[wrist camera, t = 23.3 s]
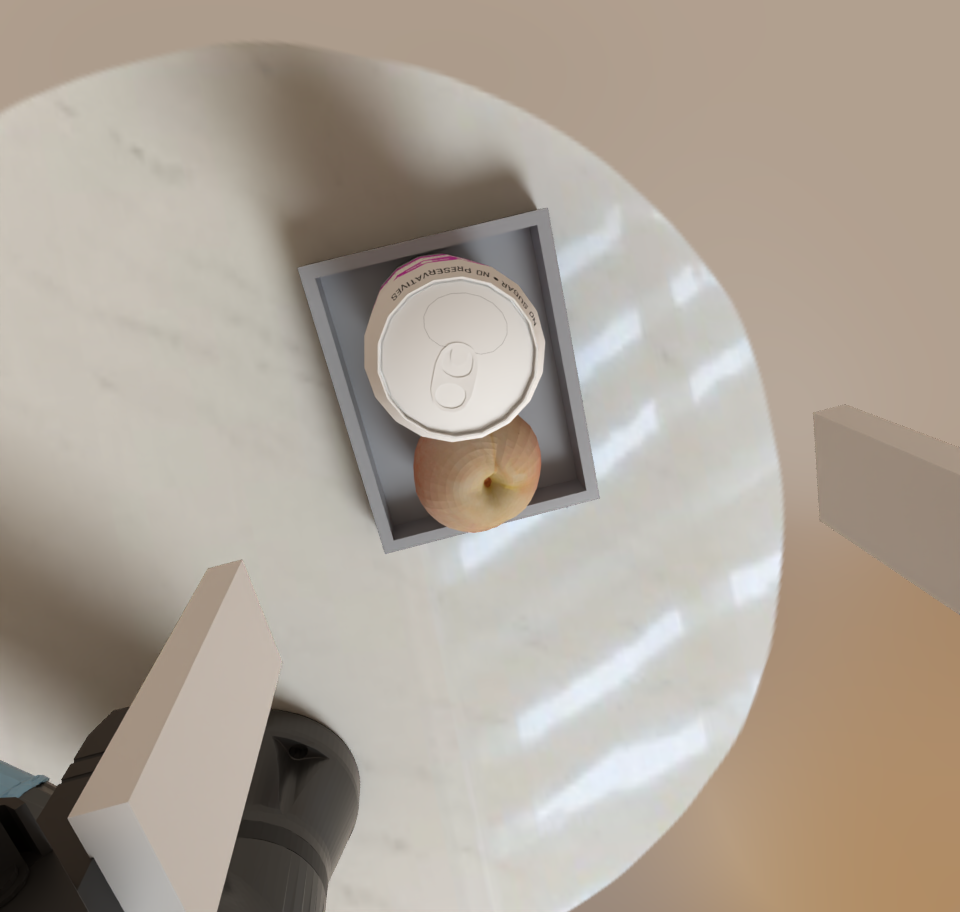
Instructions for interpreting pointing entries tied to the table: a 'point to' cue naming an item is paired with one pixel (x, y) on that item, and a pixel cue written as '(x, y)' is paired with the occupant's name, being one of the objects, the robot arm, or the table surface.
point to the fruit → (478, 477)
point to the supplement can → (452, 348)
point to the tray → (391, 446)
